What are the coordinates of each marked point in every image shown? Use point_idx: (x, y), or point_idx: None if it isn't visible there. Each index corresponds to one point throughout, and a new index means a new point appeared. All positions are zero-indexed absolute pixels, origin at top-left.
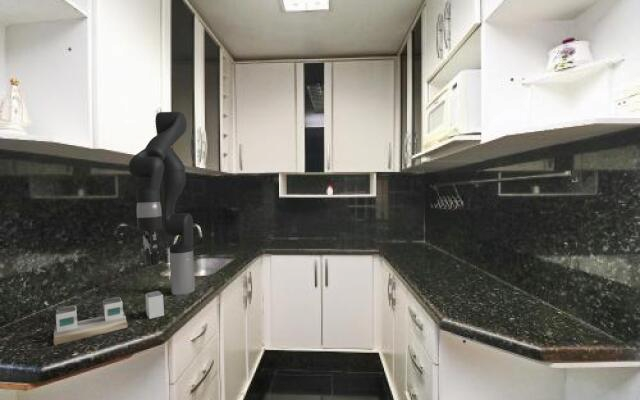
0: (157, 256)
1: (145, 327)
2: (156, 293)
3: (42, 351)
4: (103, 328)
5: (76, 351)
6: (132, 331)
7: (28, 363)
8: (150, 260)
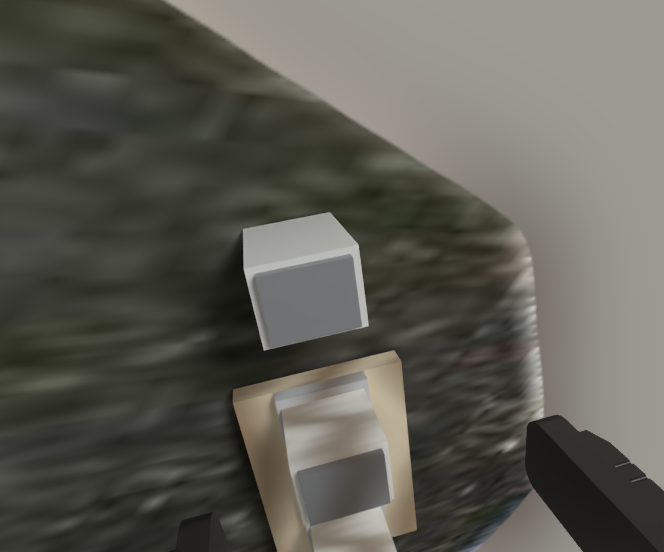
0: (647, 502)
1: (432, 285)
2: (326, 288)
3: (430, 523)
4: (406, 427)
5: (494, 447)
6: (442, 327)
7: (490, 521)
8: (220, 535)
